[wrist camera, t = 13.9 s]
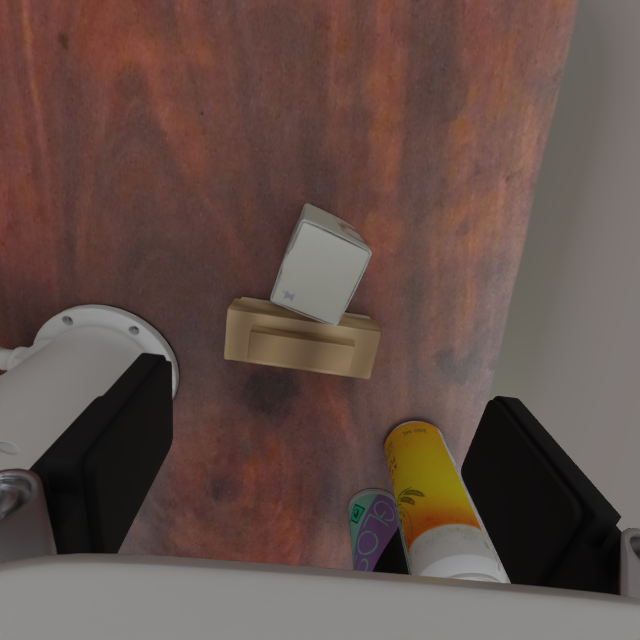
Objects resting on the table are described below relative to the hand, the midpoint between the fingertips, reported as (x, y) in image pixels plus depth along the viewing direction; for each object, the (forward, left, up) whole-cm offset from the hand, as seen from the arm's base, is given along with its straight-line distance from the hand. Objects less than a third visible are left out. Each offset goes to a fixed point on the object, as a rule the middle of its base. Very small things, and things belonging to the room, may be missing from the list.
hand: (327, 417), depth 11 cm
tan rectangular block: (0, -7, -21) cm, 22 cm away
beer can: (+13, -18, -21) cm, 30 cm away
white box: (0, +1, -21) cm, 21 cm away
